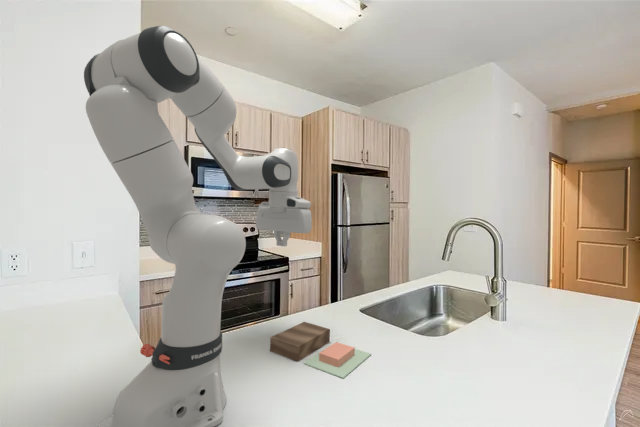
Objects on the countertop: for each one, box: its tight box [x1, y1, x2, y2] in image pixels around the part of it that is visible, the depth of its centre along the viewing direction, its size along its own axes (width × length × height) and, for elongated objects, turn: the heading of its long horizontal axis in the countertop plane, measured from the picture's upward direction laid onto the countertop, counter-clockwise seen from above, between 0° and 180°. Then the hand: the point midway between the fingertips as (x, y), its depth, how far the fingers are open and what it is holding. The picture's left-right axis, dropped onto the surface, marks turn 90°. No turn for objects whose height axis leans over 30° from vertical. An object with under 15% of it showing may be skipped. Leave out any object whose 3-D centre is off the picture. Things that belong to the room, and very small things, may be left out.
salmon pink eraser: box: [318, 341, 356, 367], centre depth 86 cm, size 9×6×2 cm, turn 146°
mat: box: [303, 343, 372, 380], centre depth 86 cm, size 16×12×1 cm
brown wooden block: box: [269, 321, 331, 363], centre depth 93 cm, size 16×10×4 cm, turn 146°
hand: (281, 246), depth 98 cm, fingers closed
